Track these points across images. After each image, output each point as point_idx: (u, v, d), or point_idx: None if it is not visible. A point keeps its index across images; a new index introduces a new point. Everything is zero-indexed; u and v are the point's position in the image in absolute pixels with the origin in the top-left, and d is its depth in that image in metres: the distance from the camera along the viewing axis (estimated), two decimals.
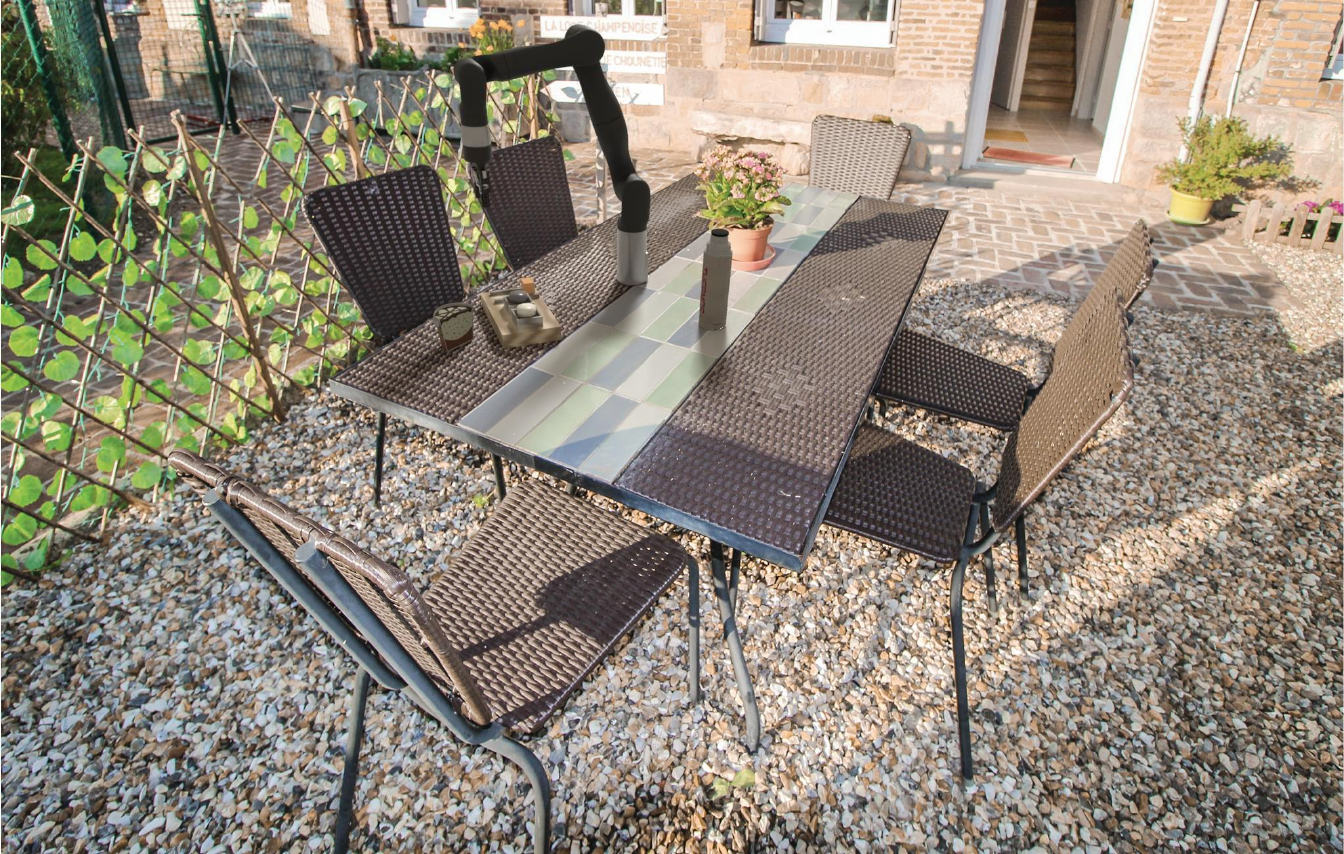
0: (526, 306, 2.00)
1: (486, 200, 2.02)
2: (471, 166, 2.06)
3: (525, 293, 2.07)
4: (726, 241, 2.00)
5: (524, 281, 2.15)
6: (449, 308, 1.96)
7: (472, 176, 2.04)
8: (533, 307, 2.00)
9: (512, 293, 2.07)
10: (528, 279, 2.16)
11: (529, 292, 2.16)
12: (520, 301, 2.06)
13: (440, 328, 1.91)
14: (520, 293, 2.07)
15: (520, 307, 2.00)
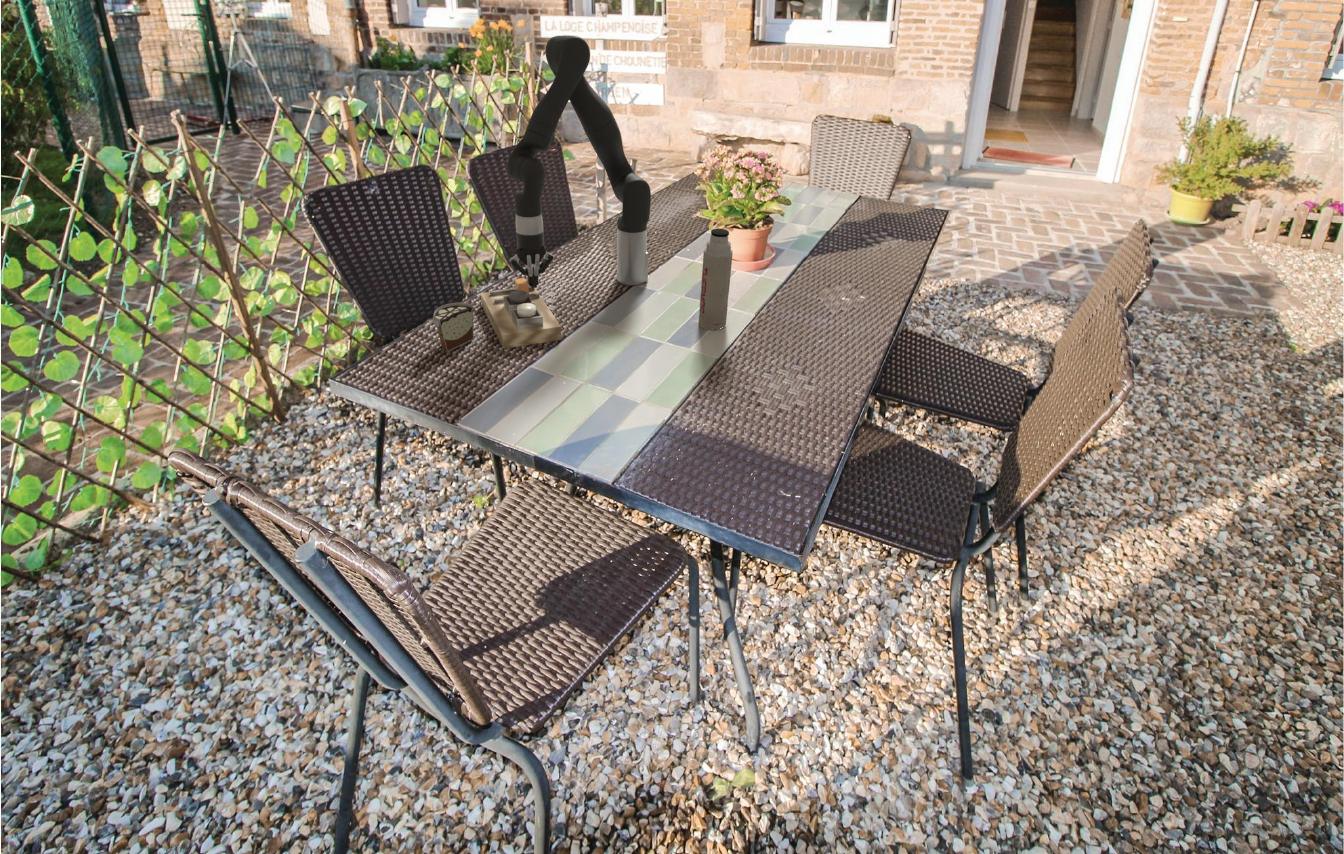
0: (526, 306, 2.00)
1: None
2: (517, 263, 2.10)
3: (525, 293, 2.07)
4: (726, 241, 2.00)
5: (518, 282, 2.14)
6: (449, 308, 1.96)
7: (531, 264, 2.11)
8: (533, 307, 2.00)
9: (512, 293, 2.07)
10: (522, 280, 2.16)
11: None
12: (520, 301, 2.06)
13: (440, 328, 1.91)
14: (520, 293, 2.07)
15: (520, 307, 2.00)
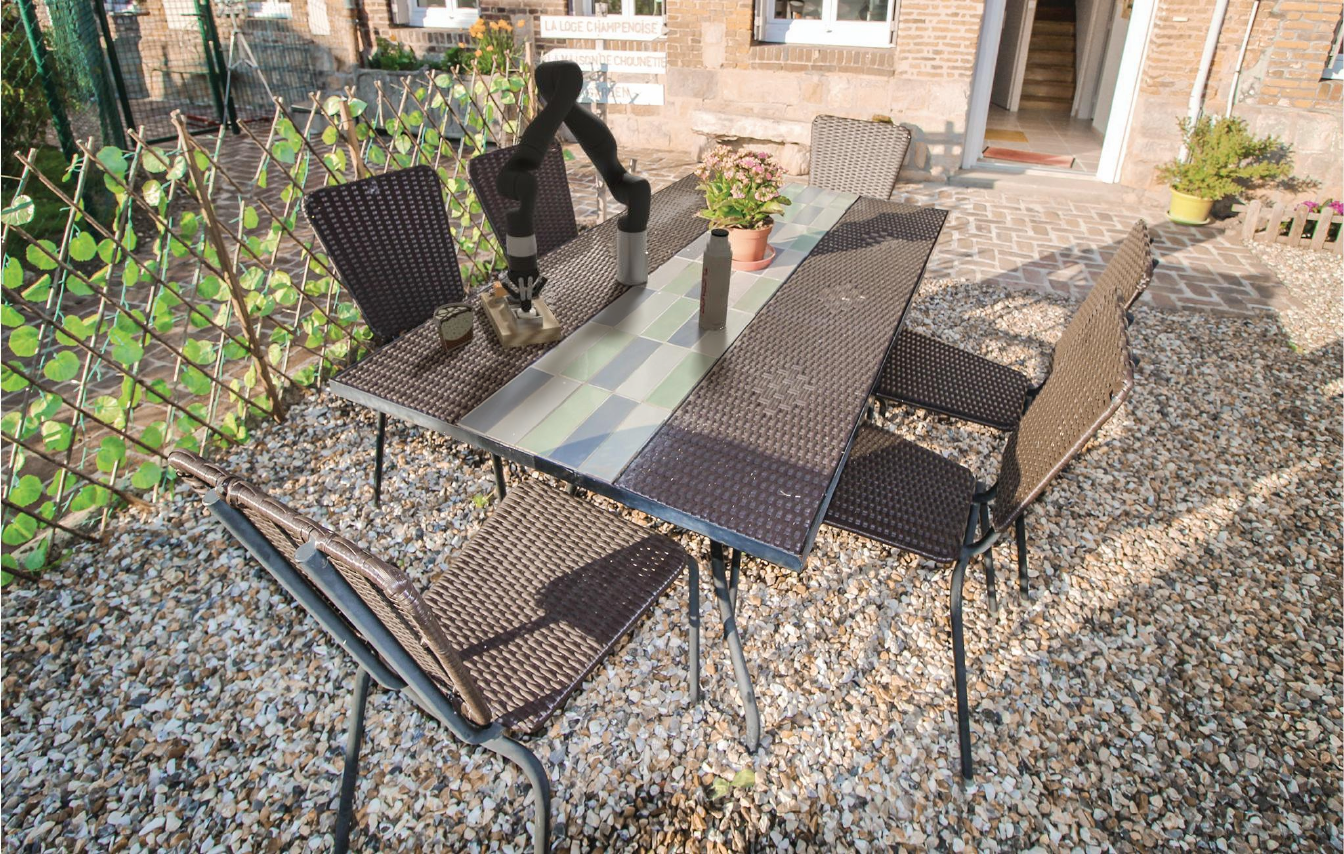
0: None
1: None
2: (509, 287, 1.94)
3: None
4: (726, 241, 2.00)
5: (496, 284, 2.12)
6: (449, 308, 1.96)
7: (523, 287, 1.95)
8: (533, 311, 2.01)
9: None
10: None
11: (501, 296, 2.13)
12: None
13: (440, 328, 1.91)
14: None
15: (520, 311, 2.00)
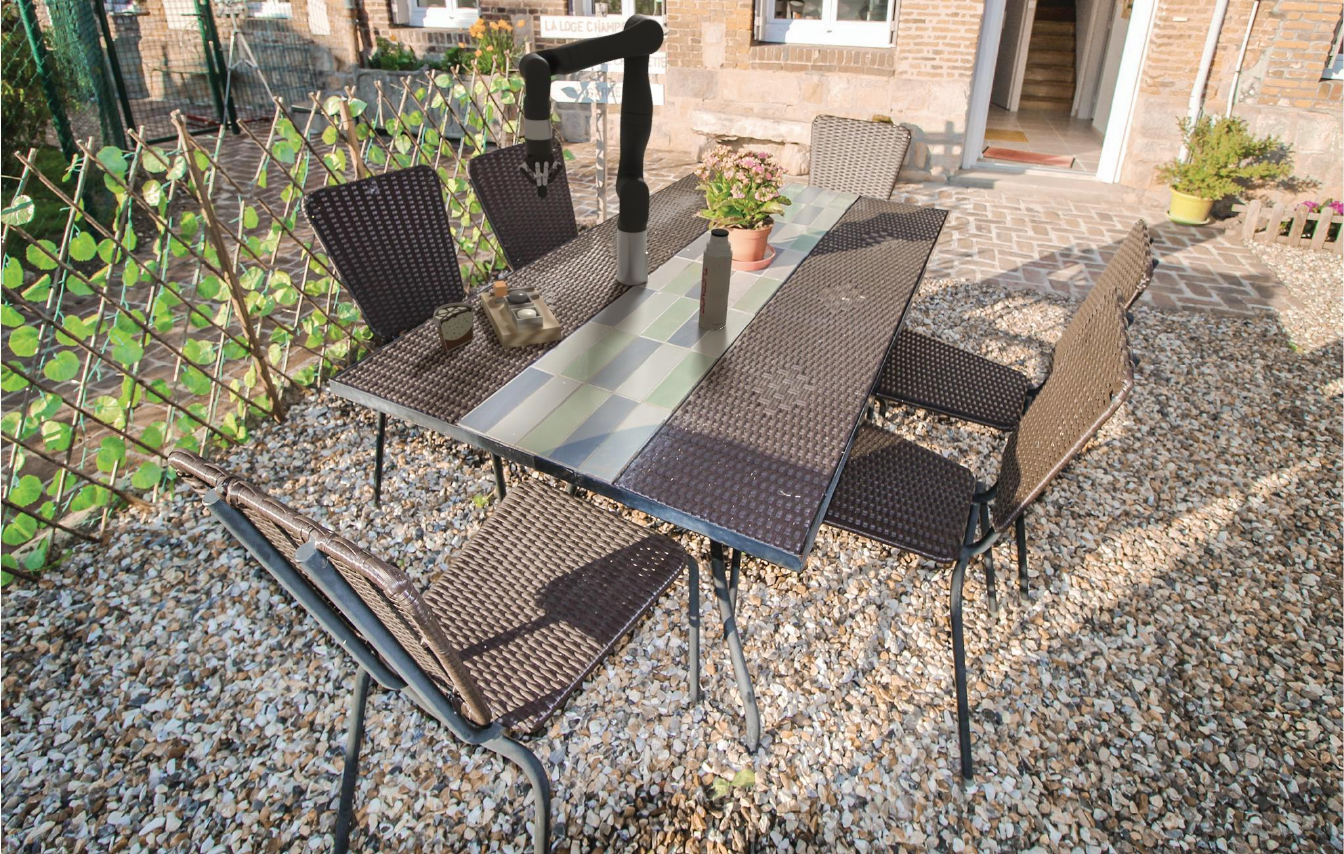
0: (526, 312, 2.01)
1: None
2: (526, 171, 2.06)
3: (525, 293, 2.07)
4: (726, 241, 2.00)
5: (496, 284, 2.12)
6: (449, 308, 1.96)
7: (540, 173, 2.08)
8: (533, 313, 2.01)
9: (512, 293, 2.07)
10: (501, 282, 2.13)
11: (501, 296, 2.13)
12: (520, 301, 2.06)
13: (440, 328, 1.91)
14: (520, 293, 2.07)
15: (520, 313, 2.01)
